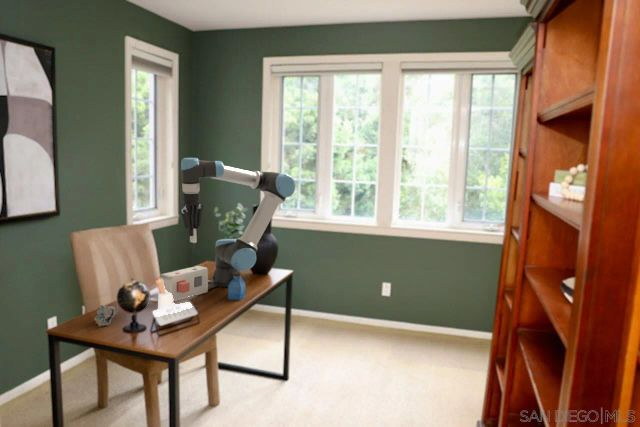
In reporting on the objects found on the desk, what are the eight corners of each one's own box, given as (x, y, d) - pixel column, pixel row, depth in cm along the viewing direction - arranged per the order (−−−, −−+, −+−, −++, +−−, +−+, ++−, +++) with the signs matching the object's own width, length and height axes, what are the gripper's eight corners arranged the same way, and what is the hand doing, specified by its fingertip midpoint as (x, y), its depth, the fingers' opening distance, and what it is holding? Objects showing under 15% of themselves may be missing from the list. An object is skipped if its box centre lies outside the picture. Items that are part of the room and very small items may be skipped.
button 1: (193, 282, 225) (193, 274, 224) (201, 284, 222) (201, 276, 221) (187, 284, 221) (187, 276, 221) (194, 286, 218) (194, 278, 218)
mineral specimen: (99, 334, 183) (123, 328, 183) (87, 327, 177) (113, 320, 176) (101, 311, 189) (125, 306, 189) (90, 304, 182) (115, 298, 182)
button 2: (181, 288, 215) (181, 280, 214) (189, 291, 211) (189, 282, 211) (174, 290, 211) (174, 282, 211) (182, 293, 208) (182, 284, 208)
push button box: (210, 285, 236) (210, 262, 234) (219, 288, 232) (220, 264, 230) (160, 299, 211) (160, 273, 210) (170, 303, 207) (170, 276, 206)
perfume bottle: (240, 300, 216) (241, 275, 214) (228, 298, 217) (228, 274, 215) (245, 296, 222) (245, 272, 220) (233, 294, 223) (233, 270, 221)
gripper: (194, 189, 217) (197, 237, 222) (174, 193, 206) (177, 244, 211) (207, 190, 214) (209, 239, 219) (187, 195, 202) (189, 246, 208)
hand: (193, 242), depth 215 cm, fingers closed
